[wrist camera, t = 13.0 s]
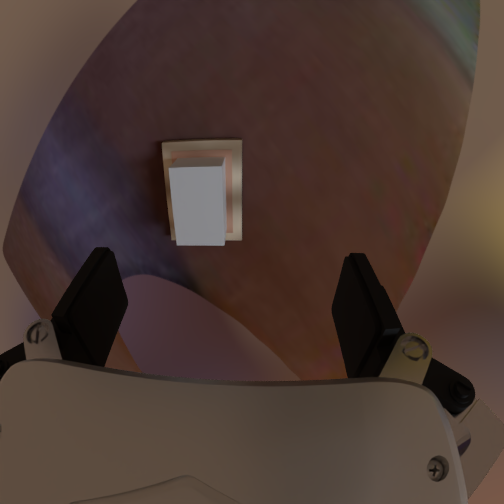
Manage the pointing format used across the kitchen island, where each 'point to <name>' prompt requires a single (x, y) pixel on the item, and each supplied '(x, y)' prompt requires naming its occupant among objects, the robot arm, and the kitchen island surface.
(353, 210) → the kitchen island surface
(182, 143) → the pin block
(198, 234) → the block
